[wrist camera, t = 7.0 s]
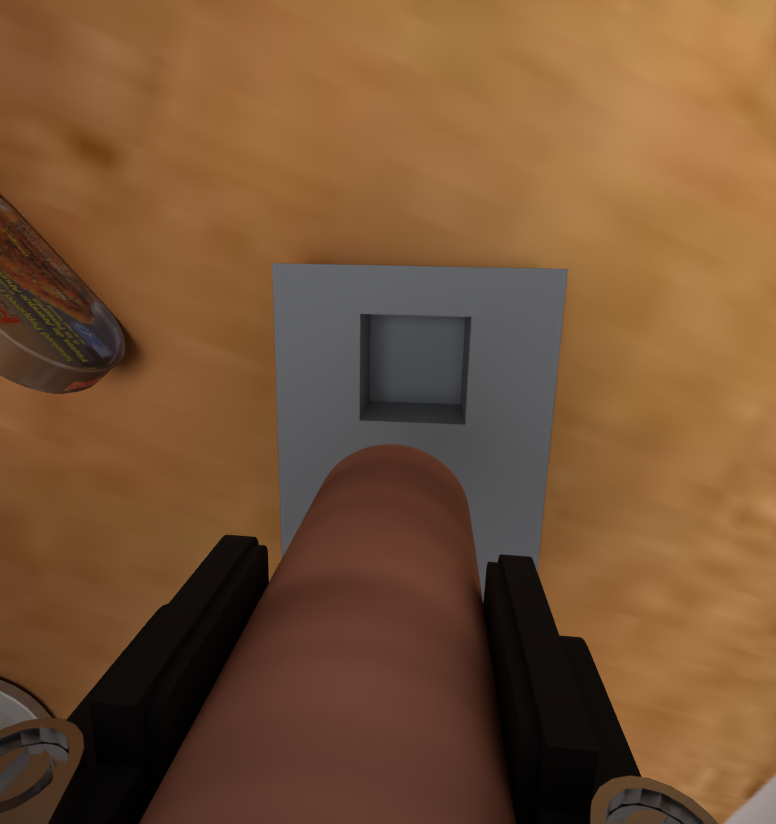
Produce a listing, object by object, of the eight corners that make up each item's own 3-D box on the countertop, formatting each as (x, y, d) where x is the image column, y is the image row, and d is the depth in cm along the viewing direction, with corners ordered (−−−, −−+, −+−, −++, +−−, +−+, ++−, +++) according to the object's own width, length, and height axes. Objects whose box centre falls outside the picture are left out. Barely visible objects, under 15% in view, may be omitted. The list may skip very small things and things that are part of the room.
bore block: (513, 580, 35) (530, 640, 29) (307, 567, 36) (284, 623, 30) (541, 271, 30) (567, 268, 24) (301, 266, 31) (272, 263, 25)
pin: (464, 591, 14) (612, 2154, 2) (315, 580, 14) (-205, 1914, 3) (475, 449, 13) (837, 1962, 1) (315, 439, 13) (-533, 1600, 2)
